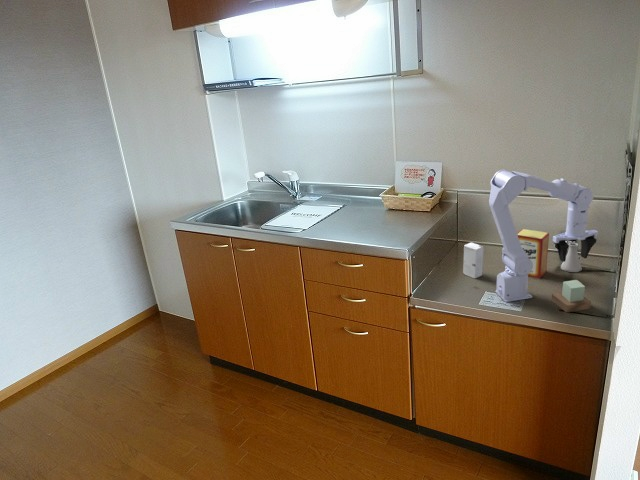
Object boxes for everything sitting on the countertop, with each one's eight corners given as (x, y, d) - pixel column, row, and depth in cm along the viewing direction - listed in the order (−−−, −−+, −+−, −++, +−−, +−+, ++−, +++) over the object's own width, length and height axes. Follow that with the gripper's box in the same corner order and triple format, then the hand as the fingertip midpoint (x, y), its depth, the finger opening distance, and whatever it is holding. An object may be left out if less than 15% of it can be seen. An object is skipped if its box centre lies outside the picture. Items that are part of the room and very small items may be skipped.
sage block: (569, 302, 147) (571, 288, 145) (561, 294, 151) (563, 281, 149) (583, 300, 147) (585, 286, 145) (575, 293, 151) (576, 279, 149)
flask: (563, 263, 177) (565, 239, 173) (584, 266, 173) (586, 242, 169) (558, 270, 172) (560, 246, 168) (579, 274, 168) (582, 249, 164)
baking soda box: (513, 272, 174) (515, 233, 168) (520, 266, 179) (522, 227, 173) (539, 278, 168) (542, 238, 162) (546, 271, 172) (549, 232, 166)
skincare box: (462, 273, 178) (462, 245, 174) (470, 270, 180) (470, 241, 176) (475, 279, 173) (475, 249, 169) (483, 275, 175) (483, 246, 171)
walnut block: (566, 313, 146) (567, 305, 145) (551, 301, 154) (552, 293, 152) (590, 309, 147) (591, 301, 146) (574, 298, 154) (575, 290, 153)
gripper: (562, 228, 148) (559, 266, 153) (605, 222, 149) (601, 260, 154) (550, 221, 154) (547, 258, 159) (591, 215, 155) (587, 252, 160)
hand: (573, 258), depth 157 cm, fingers open, 7 cm apart
